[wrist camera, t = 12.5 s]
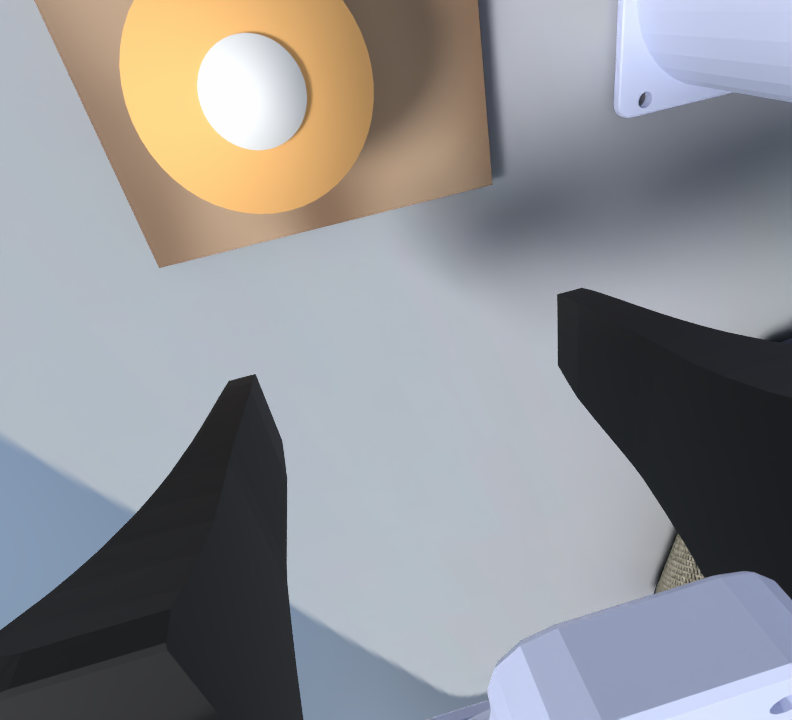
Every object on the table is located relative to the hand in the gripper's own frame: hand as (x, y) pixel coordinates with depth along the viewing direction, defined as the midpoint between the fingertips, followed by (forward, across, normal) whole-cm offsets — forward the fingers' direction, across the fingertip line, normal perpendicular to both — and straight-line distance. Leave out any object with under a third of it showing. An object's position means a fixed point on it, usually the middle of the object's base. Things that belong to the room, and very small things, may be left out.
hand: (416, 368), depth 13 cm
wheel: (+8, +2, -6) cm, 10 cm away
